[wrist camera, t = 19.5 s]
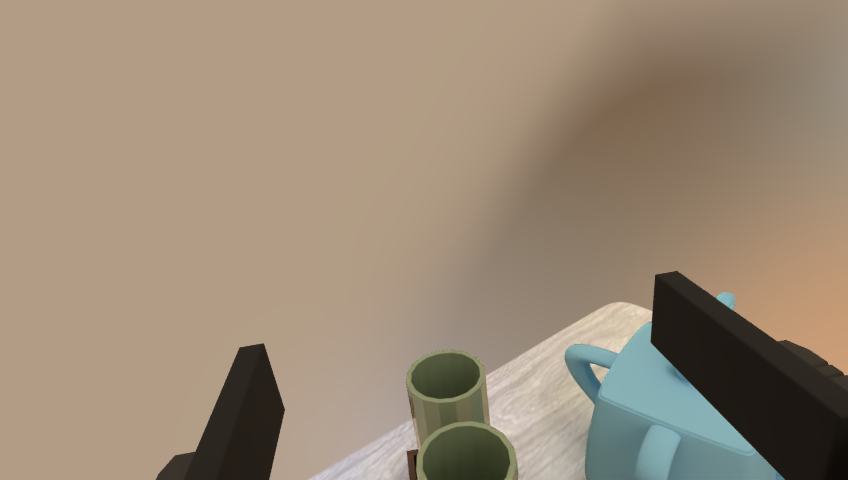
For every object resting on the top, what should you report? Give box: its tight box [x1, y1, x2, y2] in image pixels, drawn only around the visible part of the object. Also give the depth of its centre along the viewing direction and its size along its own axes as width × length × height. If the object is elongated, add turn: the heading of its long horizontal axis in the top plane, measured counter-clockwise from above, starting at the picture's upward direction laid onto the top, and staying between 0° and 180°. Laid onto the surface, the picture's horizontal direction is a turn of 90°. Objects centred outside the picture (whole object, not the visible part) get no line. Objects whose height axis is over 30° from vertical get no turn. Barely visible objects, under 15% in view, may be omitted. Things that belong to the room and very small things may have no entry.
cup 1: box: [406, 350, 490, 452], centre depth 38 cm, size 6×6×14 cm
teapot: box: [565, 292, 785, 480], centre depth 38 cm, size 18×16×14 cm
